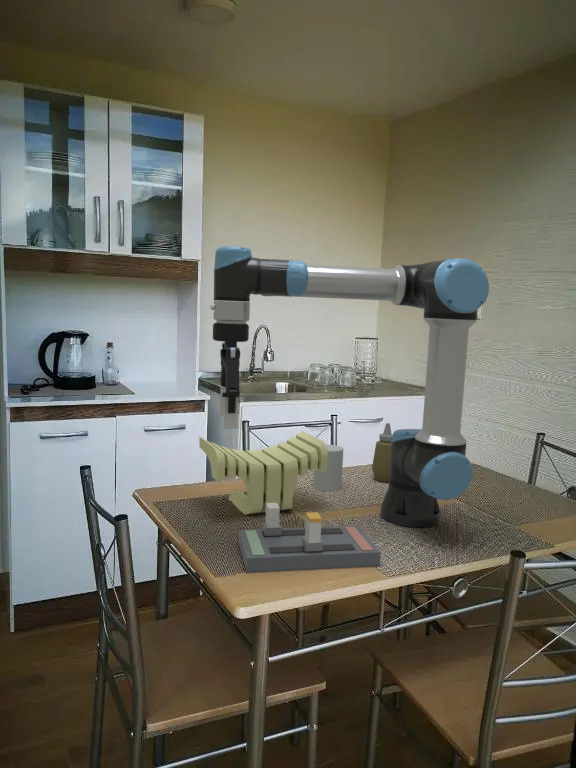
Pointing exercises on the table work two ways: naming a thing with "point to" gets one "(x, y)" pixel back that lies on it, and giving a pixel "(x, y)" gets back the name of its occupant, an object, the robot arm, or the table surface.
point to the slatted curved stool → (267, 470)
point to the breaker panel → (286, 552)
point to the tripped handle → (312, 533)
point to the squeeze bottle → (383, 456)
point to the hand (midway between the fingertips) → (228, 421)
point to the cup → (330, 471)
